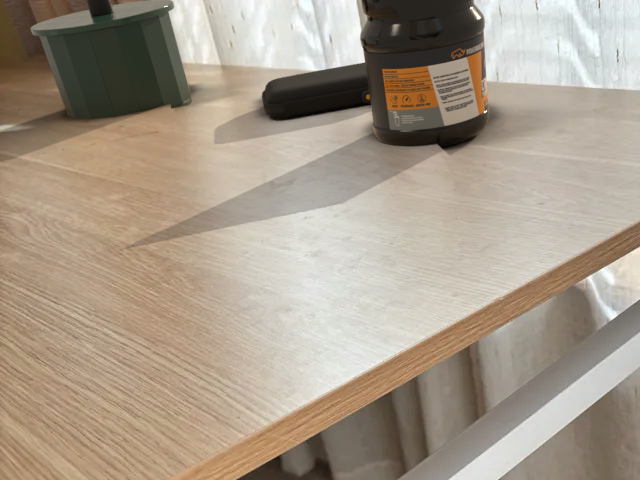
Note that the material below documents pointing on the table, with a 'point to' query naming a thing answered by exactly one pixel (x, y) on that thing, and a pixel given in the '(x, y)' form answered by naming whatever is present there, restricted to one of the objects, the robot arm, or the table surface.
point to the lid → (102, 17)
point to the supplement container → (425, 70)
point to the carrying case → (316, 92)
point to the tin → (118, 69)
